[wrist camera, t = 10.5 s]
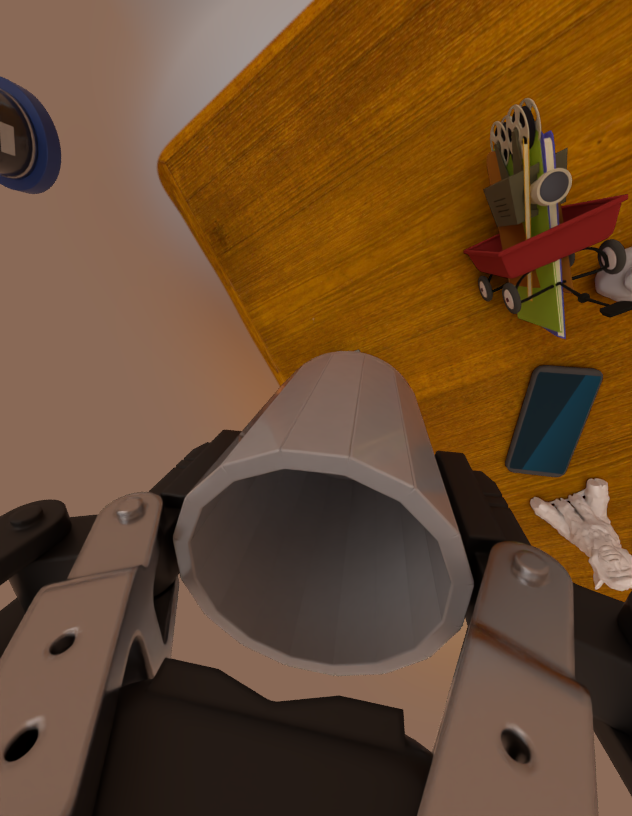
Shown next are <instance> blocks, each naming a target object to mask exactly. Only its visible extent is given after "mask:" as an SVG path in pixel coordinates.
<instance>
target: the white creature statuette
mask: <svg viewBox="0 0 632 816" xmlns="http://www.w3.org/2000/svg"><path fill="white" fill-rule="evenodd" d="M586 486H587V487H586V489H584V490H582V491H580V492H578V493H574V494H573V496H571V495H569V496H568V499H565V500H564V499H563V498H560V499H561V501H560V500H558V499H556V500H555V501H551V502H545V501H543V500H542V499H540V498H538V497H533V499H531V501H530V505H531V507H532V509H533V510H534V511H535V514H536V515H538V516H539V517H541V519H544V520H545V521H547V523H549V524H551V525H552V527H554V528H555V529H557V530H558V532H559V534H561V535H562V536H564V537H565V538H566V539H567V540H570V542H571V543H572V544H575V545H576V546H577V547H579V549H580V550H581V551H582V552H584V553H585V554H586V555H587V556H588V557H590V559H589V560H588V561H589V563H590V564H591V566H592V568H593V571H594V575H593V579H594V582H595V589H598V588H600V587H601V586H602V584H603V583H604V582H605V583H606V584H607V585H608V586H609V587H610V588H612V589H615V590H620V591H624V590H628V589H629V588H631V589H632V556H631V555H630V554H629V553H628V551H627V550H626V549H622V548H621V544H620V540H619V536H618V535H617V534H616V532H615V531H614V530H613V527H612V526H611V525H610V522H611V521H610V520H609V519H608V517H607V504H608V501H609V499H610V497H609V496H608V483H607V482H606V481H604V480H602V479H598V478H595V479H594V480H593V479H592V478H591V479H589V480H588V481H587V484H586ZM584 495H585V499H583V497H582V496H584ZM567 501H570V503H571V504H572V505H573V506H574V507H575V509H574V508H573V507H572V506H571V504H569V503H568V502H567ZM553 503H554V504H555V505H554V506H552V505H551V504H553ZM555 507H556V508H557V509H556V508H555Z"/></svg>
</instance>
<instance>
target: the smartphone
mask: <svg viewBox="0 0 632 816" xmlns="http://www.w3.org/2000/svg"><path fill="white" fill-rule="evenodd" d="M602 380H603V374H602V373H601V371H599V370H596V369H593V368H578V367H564V366H549V365H543V366H539V367H537V368H536V369H535V370H534V371H533V373H532V376H531V379H530V383H529V386H528V389H527V393H526V396H525V399H524V402H523V406H522V409H521V412H520V415H519V419H518V422H517V425H516V429H515V432H514V435H513V438H512V442H511V445H510V448H509V451H508V455H507V458H506V461H505V466H506V467H507V468H508V470H509V471H511V472H515V473H524V474H532V475H541V476H549V477H560V476H562V475H564V474H565V472H566V471H567V468H568V465H569V463H570V460H571V458H572V455H573V453H574V450H575V448H576V445H577V443H578V440H579V438H580V435H581V433H582V430H583V428H584V425H585V423H586V420H587V418H588V415H589V413H590V410H591V408H592V405H593V402H594V400H595V397H596V395H597V392H598V390H599V387H600V385H601V382H602Z"/></svg>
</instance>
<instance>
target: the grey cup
mask: <svg viewBox="0 0 632 816" xmlns="http://www.w3.org/2000/svg"><path fill="white" fill-rule="evenodd" d="M173 544H174V549H175V553H176V558H177V563H178V568H179V573H180V577H181V579H182V581H183V583H184V584H185V586H186V587H187V589H188V590H189V592H190V593H191V595H192V596H193V598H194V599H195V601H196V602H197V604H198V605H199V606H200V608H201V610H202V611H203V613H204V614H206V616H207V617H208V618H209V619H211V620H212V621H213V622H214V623H215V624H217V625H218V626H219V627H220V628H222V629H223V630H224V631H225V632H227V633H228V634H229V635H230V636H231V637H233V638H234V639H235V640H236V641H238V642H239V643H240V644H243V646H245V647H248V648H250V649H252V650H254V651H256V652H258V653H260V654H262V655H265V656H267V657H269V658H271V659H274V660H275V661H277V662H280V663H281V664H284V665H287V666H290V667H295V668H299V669H304V670H309V671H314V672H319V673H323V674H328V675H333V676H334V675H336V676H346V675H347V676H348V675H374V674H384V673H389V672H392V671H395V670H398V669H400V668H403V667H406V666H409V665H411V664H414V663H417V662H420V661H423V660H426V659H428V657H431V656H432V655H433V654H434V653H435V652H436V651H437V650H439V649H440V648H441V647H442V646H443V645H444V644H445V643H446V642H447V641H448V640H449V639H450V638H452V636H454V635H455V634H456V633H457V632H458V631H459V630H460V629H461V627H462V626H463V622H464V619H465V615H466V612H467V609H468V605H469V602H470V598H471V595H472V591H473V588H474V579H473V576H472V572H471V569H470V565H469V562H468V559H467V555H466V552H465V549H464V545H463V542H462V539H461V535H460V532H459V529H458V526H457V523H456V520H455V517H454V514H453V511H452V508H451V504H450V501H449V498H448V495H447V492H446V489H445V486H444V483H443V480H442V477H441V474H440V471H439V468H438V465H437V461H436V458H435V455H434V452H433V449H432V446H431V443H430V440H429V437H428V434H427V431H426V428H425V425H424V421H423V418H422V415H421V412H420V409H419V406H418V403H417V400H416V397H415V394H414V392H413V390H412V389H411V387H410V386H409V384H408V382H407V381H406V380H405V379H404V377H403V376H402V375H401V374H400V373H399V372H398V371H397V370H396V369H395V368H393V367H392V366H391V365H389V364H388V363H386V362H384V361H383V360H381V359H379V358H377V357H374V356H372V355H369V354H365V353H361V352H354V351H337V352H330V353H327V354H323V355H320V356H318V357H315V358H313V359H311V360H309V361H308V362H306V363H305V364H303V365H302V366H301V367H299V368H298V369H297V370H296V371H295V372H294V373H293V374H292V375H291V376H290V377H289V378H288V379H287V380H286V381H285V382H284V383H283V384H282V385H281V387H280V388H279V389H278V390H277V391H276V393H275V394H274V395H273V396H272V397H271V398H270V399H269V401H268V402H267V403H266V404H265V405H264V406H263V407H262V409H261V410H260V411H259V412H258V413H257V414H256V416H255V417H254V418H253V419H252V420H251V421H250V423H249V424H248V425H247V426H246V427H245V428H244V429H243V431H242V432H241V433H240V434H239V435H238V436H237V437H236V439H235V440H234V441H233V442H232V443H231V444H230V446H229V447H228V448H227V449H226V450H225V451H224V452H223V454H222V455H221V456H220V457H219V458H218V459H217V461H216V462H215V463H214V464H213V465H212V466H211V468H210V469H209V470H208V471H207V472H206V473H205V474H204V476H203V477H202V478H201V479H200V480H199V481H198V483H197V484H196V485H195V486H194V487H193V488H192V489H191V491H190V492H189V493H188V494H187V496H186V497H185V499H184V502H183V505H182V508H181V511H180V515H179V518H178V521H177V524H176V527H175V530H174V534H173Z"/></svg>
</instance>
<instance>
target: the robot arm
mask: <svg viewBox="0 0 632 816" xmlns="http://www.w3.org/2000/svg"><path fill="white" fill-rule="evenodd" d="M37 159H38V141H37V135H36V132H35V129H34V126H33V123H32V121H31V119H30V117H29V115H28V113H27V112H26V110H25V109H24V107H23V106H22V105H21V104H20V102H19V101H18V100H17V99H16V98H14V97H13V96H12V95H11V94H9V93H8V92H6V91H4V90H2V89H0V175H1V176H4V177H7V178H11V179H23V178H25V177H27V176H28V175H30V174H31V172H32V171H33V170H34V168H35V166H36V163H37ZM241 432H242V431H234V430H223V431H222V432H221V433H220V434H219V435H218V436H217V437H216V438H215V439H214V440H213V441H212V442H211V443H208V442H207V443H205V444H203V445H201V446H199V447H197V448H195V449H193V450H192V451H191V452H190V453H189V454H188V455H187V456H186V457H185V458H184V460H181V461H180V462H179V463H178V464H177V465H176V468H173V469H172V470H171V471H170V472H169V473H168V474H167V475H166V476H165V477H164V478H162V479H161V480H160V481H159V482H158V483H157V484H156V485H155V486H154V487H153V488H152V489H151V490H150V491H149V492H138V493H133V494H129V495H125V496H123V497H120V498H118V499H116V500H114V501H112V502H111V503H109V504H108V505H106V506H105V507H104V508H103V509H102V510H101V511H100V513H99V514H98V515H89V516H78V517H69V515H68V512H67V509H66V506H65V504H64V503H62V502H61V501H58V500H41V501H36V502H32V503H29V504H26V505H23V506H20V507H18V508H16V509H13V510H12V511H9V512H8V513H6V514H4V515H2V516H0V585H1V584H3V583H4V582H5V581H7V580H8V579H9V581H10V583H11V585H12V588H13V590H14V592H15V594H16V596H17V598H16V599H15V600H13V601H12V602H11V603H10V604H8V605H7V606H6V607H5V608H3V609H2V610H1V611H0V816H598V800H597V783H596V768H595V767H596V766H595V749H594V732H595V734H596V735H597V737H598V739H599V741H600V742H601V744H602V746H603V748H604V749H605V751H606V753H607V754H608V756H609V758H610V760H611V761H612V763H613V765H614V767H615V768H616V770H617V772H618V773H619V775H620V777H621V779H622V780H623V782H624V784H625V786H626V787H627V789H628V791H629V792H630V794H631V796H632V591H631V593H630V594H629V596H628V598H627V600H626V601H625V602H622V601H619V600H616V599H614V598H611V597H608V596H606V595H603V594H600V593H597V592H595V591H592V590H589V589H587V588H584V587H582V586H579V585H577V584H575V583H573V582H572V580H571V578H570V576H569V574H568V572H567V571H566V570H565V569H564V567H563V566H562V565H561V564H560V563H559V562H558V561H556V560H555V559H554V558H553V557H551V556H550V555H548V554H547V553H545V552H543V551H542V550H540V549H538V548H536V547H533V546H531V545H530V543H529V541H528V539H527V538H526V536H525V534H524V532H523V531H522V529H521V527H520V525H519V524H518V522H517V520H516V518H515V517H514V515H513V513H512V511H511V510H510V508H508V504H507V503H506V501H505V499H504V498H503V497H502V494H501V492H500V490H499V489H498V487H497V485H496V483H495V482H494V481H492V480H491V479H490V478H489V477H488V476H486V475H485V474H484V473H483V472H482V471H473V470H472V469H471V467H470V465H469V463H468V461H467V459H466V457H465V455H464V454H463V453H456V452H445V451H437V452H436V454H435V458H436V461H437V465H438V468H439V471H440V474H441V477H442V480H443V483H444V486H445V489H446V492H447V495H448V498H449V501H450V504H451V508H452V511H453V514H454V517H455V520H456V523H457V526H458V529H459V532H460V535H461V539H462V542H463V545H464V549H465V552H466V555H467V559H468V562H469V565H470V569H471V572H472V576H473V579H474V588H473V591H472V595H471V598H470V602H469V605H468V609H467V612H466V615H465V618H466V622H467V625H468V628H467V631H466V635H465V638H464V642H463V645H462V648H461V652H460V656H459V659H458V662H457V666H456V669H455V673H454V676H453V680H452V683H451V687H450V690H449V694H448V698H447V701H446V705H445V708H444V711H443V715H442V719H441V722H440V725H439V729H438V732H437V735H436V739H435V742H434V746H433V749H432V752H430V751H429V750H428V749H426V748H425V747H424V746H422V745H421V744H420V743H418V742H417V741H416V740H414V739H412V738H410V737H409V736H407V735H405V731H404V715H403V710H402V709H398V708H394V707H389V706H384V705H380V704H375V703H371V702H366V701H361V700H357V699H353V698H347V697H343V696H331V697H320V698H310V699H300V700H290V701H280V702H275V701H270V700H268V699H266V698H264V697H263V696H261V695H259V694H258V693H256V692H255V691H253V690H252V689H250V688H248V687H247V686H245V685H243V684H242V683H240V682H239V681H237V680H235V679H234V678H232V677H231V676H228V675H227V674H225V673H224V672H222V671H221V670H219V669H216V668H211V667H207V666H202V665H197V664H193V663H188V662H184V661H179V660H175V659H171V653H172V643H173V635H174V626H175V616H176V609H177V600H178V591H179V579H178V574H179V568H178V563H177V558H176V553H175V549H174V544H173V534H174V530H175V527H176V524H177V521H178V518H179V515H180V511H181V508H182V505H183V502H184V499H185V497H186V496H187V494H188V493H189V492H190V491H191V489H192V488H193V487H194V486H195V485H196V484H197V483H198V481H199V480H200V479H201V478H202V477H203V476H204V474H205V473H206V472H207V471H208V470H209V469H210V468H211V466H212V465H213V464H214V463H215V462H216V461H217V459H218V458H219V457H220V456H221V455H222V454H223V452H224V451H225V450H226V449H227V448H228V447H229V446H230V444H231V443H232V442H233V441H234V440H235V439H236V437H237V436H238V435H239V434H240V433H241ZM593 730H594V732H593Z"/></svg>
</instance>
